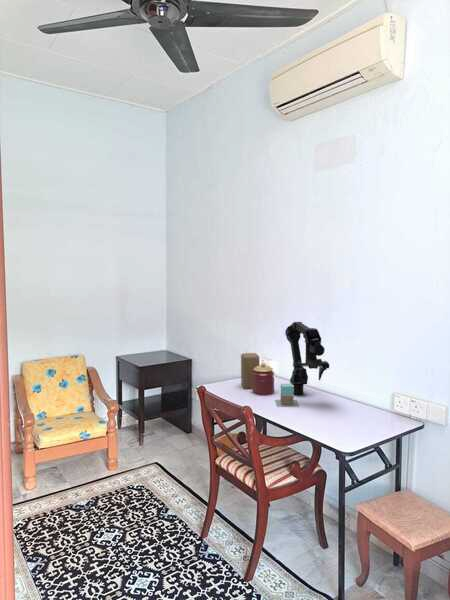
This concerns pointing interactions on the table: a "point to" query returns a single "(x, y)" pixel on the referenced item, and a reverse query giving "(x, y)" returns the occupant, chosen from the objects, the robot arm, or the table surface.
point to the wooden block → (248, 368)
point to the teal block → (287, 389)
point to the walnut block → (286, 400)
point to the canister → (263, 380)
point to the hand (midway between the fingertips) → (310, 380)
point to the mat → (279, 404)
